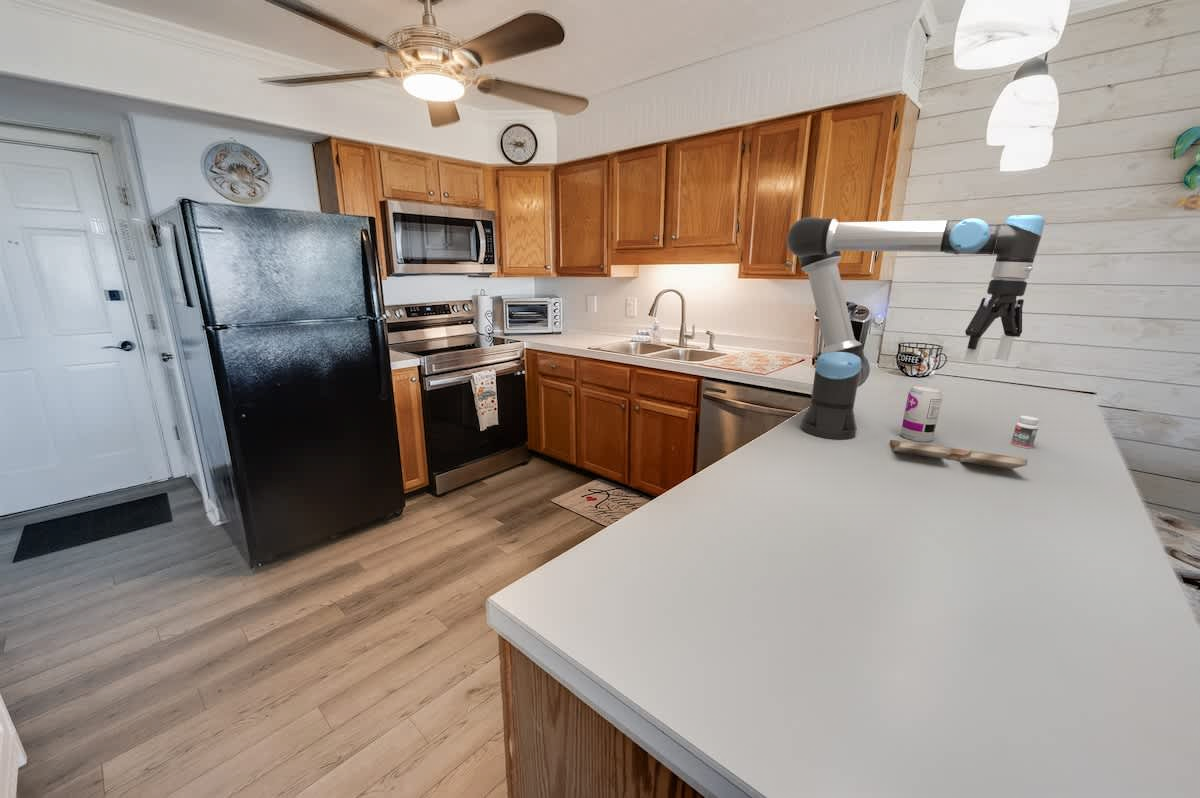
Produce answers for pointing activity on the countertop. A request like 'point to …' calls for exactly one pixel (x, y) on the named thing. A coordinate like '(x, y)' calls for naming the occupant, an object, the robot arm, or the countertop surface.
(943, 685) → the countertop surface
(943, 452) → the plank
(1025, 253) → the robot arm
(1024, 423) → the pill bottle
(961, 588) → the countertop surface
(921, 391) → the supplement can
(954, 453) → the laid board
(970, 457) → the plank
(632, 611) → the countertop surface
